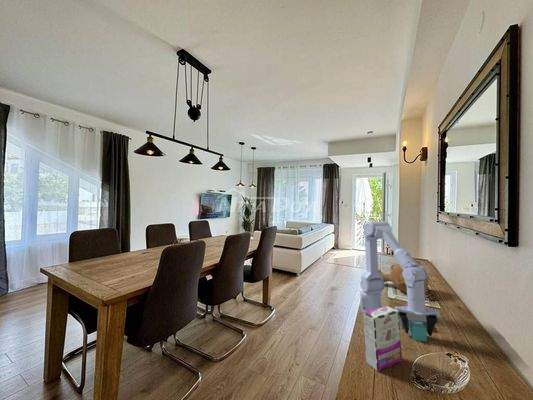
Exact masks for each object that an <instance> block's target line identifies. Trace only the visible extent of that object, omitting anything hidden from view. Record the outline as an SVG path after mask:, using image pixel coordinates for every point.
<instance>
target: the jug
mask: <svg viewBox="0 0 533 400" xmlns="http://www.w3.org/2000/svg"><path fill="white" fill-rule="evenodd" d="M414 261H415V262H416V263H418V264H419V265H421V266H423V265H422V264H421V263H420V262H419V261H416V260H414ZM390 270H391V272H390V273H384V272H382V271H381V270H380V269H378V273H379V274H381V275H382V276H383V281H384V283H386V282H390V283H392V284H393V285H394V286H395V288H397V289H398V290H399V291H401V292H403V293H405V294H407V285H406V284H405V279H404V277H403V275H402V272H403V270H402V268H401V267H400V265H399V264H398V263H397V264H396V265H395V266H391V267H390ZM423 281H424V294H426V293H427V292H428V289H429V283H430V281H429V277H428V275H427V278H426V280H423Z"/></svg>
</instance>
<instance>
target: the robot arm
mask: <svg viewBox="0 0 533 400" xmlns="http://www.w3.org/2000/svg"><path fill="white" fill-rule="evenodd" d="M392 229H393V228H392V226H391V225H390V223H389V222H388V221H386V220H383V221H367V222H366V223H365V224H364V225H363V231H364V232H363V233H364V237H363V238H364V248H365V272H364V273H363V274H361V275H360V276H361V277H360V278H361V279H360V282H359V284H360V289H361V290H360V292H359V293H360V294H359V297H360V302H359V304H360V305H359V306H360V309H361V313H363V312H367V311H370V310H374V309H377V308H380V307H383V305H382V293H383V290H384V289H385V285H386V284H385V282H384V281H383V276H382V275H381V274H379V273H378V270H379V262H378V261H379V258H378V240H379V239H382V240H383V241H384V242H385V243H386V244H387V246H388V247H389V248H390V249H391V250H392V252H393V258H394V259H395V261H396V263H397V264H399V265H400V267H401V268H402V270H403V272H402V275H403V277H404V279H405V284H406V285H407V293H406V296H407V297H406V298H407V305H403V306H398V305H397V306H394V309H396V310H398V311H399V315H400V317H401V320H402V322H403V325H404V328H403V329H404V332H405V334H407V335H408V334H409V329H408V317H407V315H406V314H416V315H420V316H423V315H425V317H426V320H427V331H426V333H427V335H428V336H429V337H432V335H433V332H434V328H435V326H436V325H437V323H438V320H439V319H438V318H441V314H440V313H441V312H440V311H439V310H438V309H433V308H427V307H426V301H425V300H426V299H425V298H426V297H425V294H426V293H425V294H424V281H423V280H426V278H427V276H428V272H427V270H426V268H425V267H424V266H423V265H422V264H421V265H422V266H421V265H419V264H418V263H416V262H415V261H416V260H415V259H414V258H413V256H412V255H411V254H410V251H408V250H407V249H404V248H402V246H401V245H400V243H399V241H398V240H397V239H396V237H395V234H393V232H392V231H393V230H392Z"/></svg>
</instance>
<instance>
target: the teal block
mask: <svg viewBox="0 0 533 400" xmlns="http://www.w3.org/2000/svg"><path fill="white" fill-rule="evenodd" d="M408 331H409V335H410V337H411V338H412V339H411V340H412V341H418V342H419V341H420V342H428V338H427V337H428V336H427V335H428V333H427V331H426V327H425V326H424V324H423V323H422V322H414V321H409V329H408Z"/></svg>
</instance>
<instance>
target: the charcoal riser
mask: <svg viewBox="0 0 533 400" xmlns="http://www.w3.org/2000/svg"><path fill="white" fill-rule="evenodd" d="M406 315H407V317H408V330H409V321H414V322H422V323H423V324H424V326H425V327H426V332H427V320H426V315H423V316H420V315H416V314H406ZM399 325H400V327H401V329H404V325H403V322H402V320H401V317H400V315H399Z"/></svg>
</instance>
